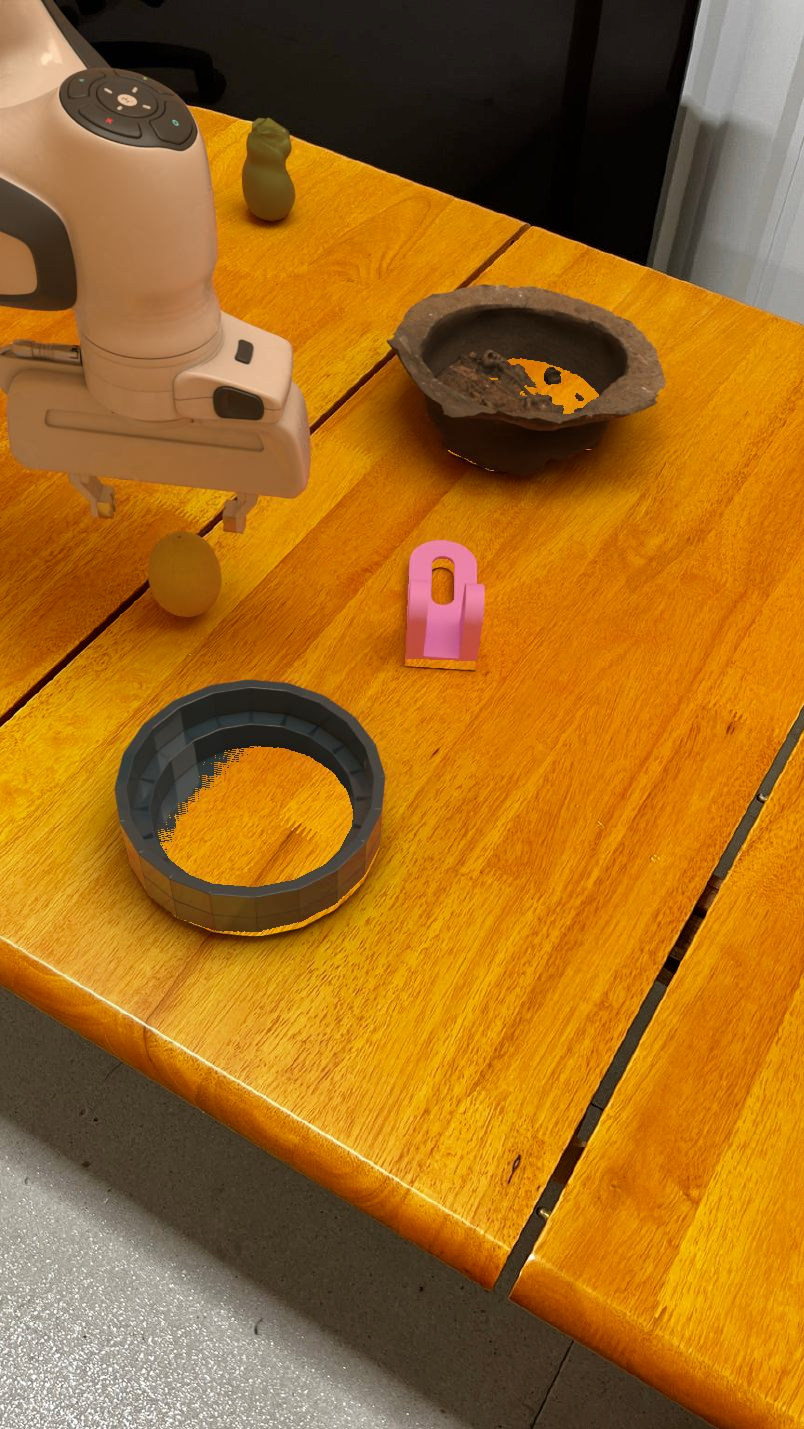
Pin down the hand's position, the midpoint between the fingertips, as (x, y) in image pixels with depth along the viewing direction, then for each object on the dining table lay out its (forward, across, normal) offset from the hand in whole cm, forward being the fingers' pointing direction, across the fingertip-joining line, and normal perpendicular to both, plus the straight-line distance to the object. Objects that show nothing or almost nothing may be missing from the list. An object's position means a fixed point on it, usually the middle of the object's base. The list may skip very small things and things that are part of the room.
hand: (170, 519), depth 89 cm
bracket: (+10, +21, +3) cm, 23 cm away
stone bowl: (+9, +27, +29) cm, 41 cm away
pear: (+10, 0, +58) cm, 59 cm away
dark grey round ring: (+10, +9, -20) cm, 24 cm away
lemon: (+10, +1, 0) cm, 10 cm away
